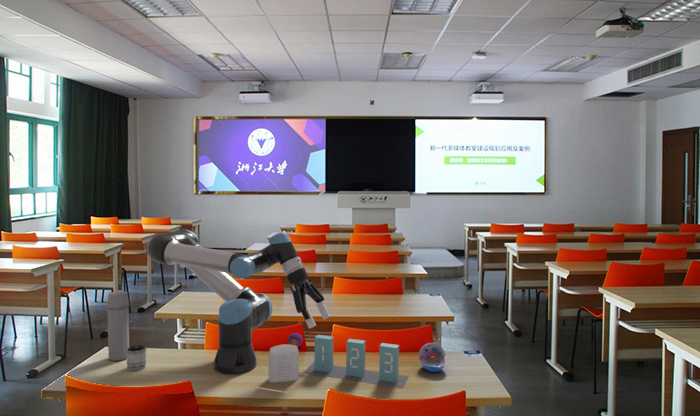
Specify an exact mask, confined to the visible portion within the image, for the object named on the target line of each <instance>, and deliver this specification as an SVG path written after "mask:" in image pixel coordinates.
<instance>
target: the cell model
mask: <svg viewBox="0 0 700 416" xmlns="http://www.w3.org/2000/svg"><path fill="white" fill-rule="evenodd" d="M446 355H447V353H445V350H444V348H443V346H441V345H440V344H438V343H434V342H428V343H426V344H424V345H422V346H421V348H420V350H419V352H418V360H419V363H420V364H421V366H422V368H423V369H425V370H426V371H428V372H430V373H437V372H440V371H442V370H443V369H445V366H446V364H447V360H446V359H445V357H446Z"/></svg>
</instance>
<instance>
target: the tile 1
mask: <svg viewBox="0 0 700 416" xmlns="http://www.w3.org/2000/svg"><path fill="white" fill-rule="evenodd" d="M313 362H314V370H317V371H323V372H331V371H332V370H333V365H334V336H330V335H322V334H317V335H316V336H315V337H314V361H313Z"/></svg>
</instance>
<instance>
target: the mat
mask: <svg viewBox="0 0 700 416" xmlns="http://www.w3.org/2000/svg"><path fill="white" fill-rule="evenodd" d="M314 362H315V361H313V363H311V364H310V365H309V366H308V367H307V368H306V369H304V371H303V372H302V373H303V374H308V375H313V376H314V375H315V376H321V377H327V378H334V379H339V380H347V381H351V382H353V381H354V382H358V383H364V384H365V383H366V384H371V385H379V386H385V387H389V388H390V387H391V388H397V389H404V387H405V386H406V383H407V381H408V380H409V377H410V376H409V375H404V374H398V380H397V382H396V383H395V382H389V381H382V380H379V371H374V370H369V369H365V375H364V376H363V377H356V376H350V375H346V366H340V365H334V364H333V370H332V371H331V372H323V371H317V370H314Z"/></svg>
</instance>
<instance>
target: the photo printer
mask: <svg viewBox="0 0 700 416" xmlns="http://www.w3.org/2000/svg"><path fill="white" fill-rule="evenodd" d="M299 363H300V354H299V347H297V346H294V345H288V343H287V344H278V345H274V346H272V347H270V348H269V352H268V375H267V376H268V382H269V383H283V382H294V381H298V380H299V370H300V369H299V367H300V366H299Z"/></svg>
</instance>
